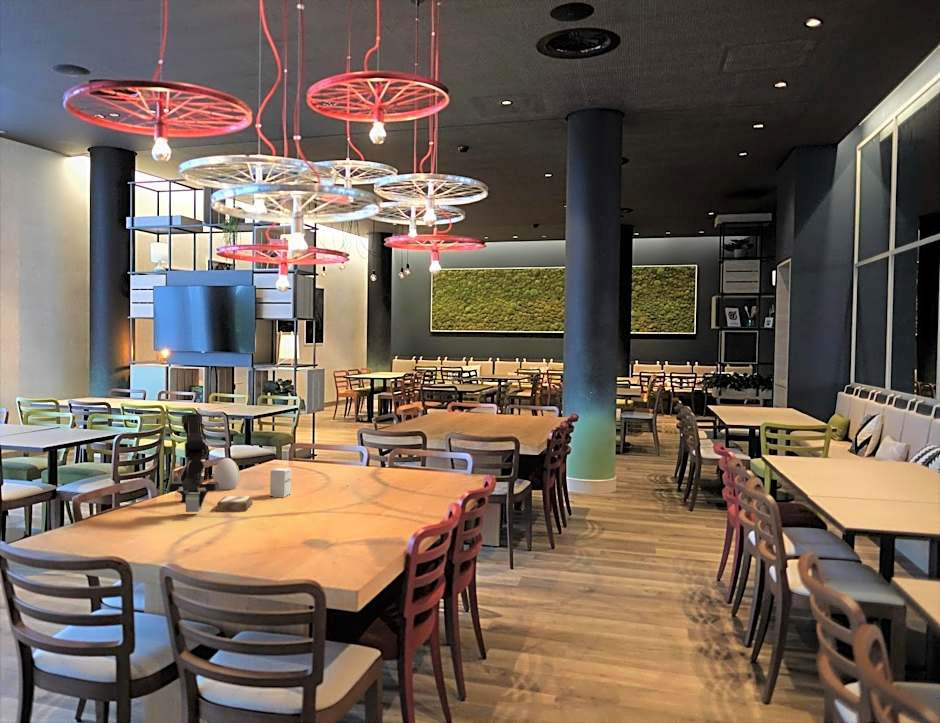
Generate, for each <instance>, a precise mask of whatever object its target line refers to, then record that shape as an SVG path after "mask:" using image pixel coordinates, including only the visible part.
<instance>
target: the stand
mask: <svg viewBox="0 0 940 723" xmlns="http://www.w3.org/2000/svg"><path fill="white" fill-rule="evenodd" d="M216 505H217V512H247V511H248V510H249V509H250V508H251V507H252V506H251V505H253V496H245V495H244V496H243V495H242V496H241V495H239V496H236V495H234V496H233V495H229V496H227V495H226V496H223V498H221V499H220V500H218V502H217V504H216ZM250 506H251V507H250ZM248 508H249V509H248Z"/></svg>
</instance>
